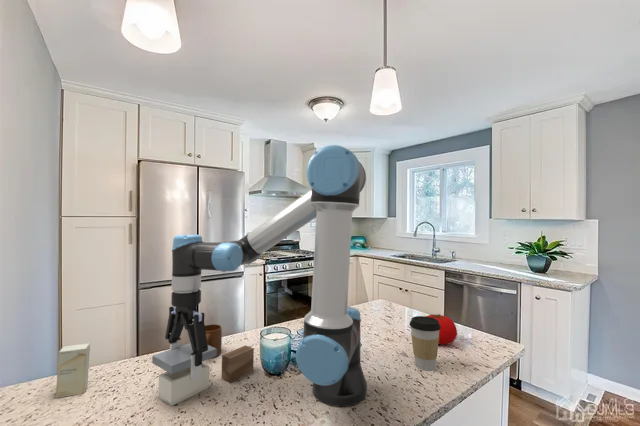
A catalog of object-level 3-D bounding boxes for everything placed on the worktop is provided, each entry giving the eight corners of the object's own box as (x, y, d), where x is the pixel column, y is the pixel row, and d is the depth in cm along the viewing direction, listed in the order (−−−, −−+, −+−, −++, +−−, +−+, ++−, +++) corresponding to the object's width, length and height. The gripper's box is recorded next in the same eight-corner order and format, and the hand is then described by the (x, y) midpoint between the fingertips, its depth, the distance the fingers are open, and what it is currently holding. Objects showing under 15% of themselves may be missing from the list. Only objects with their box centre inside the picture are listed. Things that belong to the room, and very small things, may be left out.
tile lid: (216, 355, 86) (216, 348, 86) (171, 374, 75) (171, 366, 75) (196, 347, 91) (196, 340, 91) (152, 363, 81) (152, 355, 81)
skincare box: (55, 399, 80) (56, 352, 80) (61, 390, 84) (62, 346, 84) (84, 393, 82) (86, 348, 83) (89, 385, 86) (90, 342, 87)
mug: (217, 364, 100) (217, 335, 100) (192, 365, 98) (193, 336, 99) (222, 349, 111) (223, 323, 112) (201, 350, 110) (201, 324, 110)
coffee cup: (442, 362, 101) (441, 317, 102) (440, 376, 92) (440, 326, 93) (411, 357, 105) (411, 314, 106) (407, 369, 96) (407, 322, 97)
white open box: (209, 387, 85) (209, 365, 86) (171, 406, 77) (171, 382, 77) (196, 380, 89) (196, 359, 89) (158, 397, 80) (158, 374, 81)
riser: (253, 370, 95) (253, 348, 95) (229, 382, 88) (230, 358, 88) (245, 367, 98) (245, 345, 98) (221, 378, 90) (221, 355, 90)
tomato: (464, 344, 117) (464, 317, 117) (445, 352, 110) (444, 323, 110) (432, 333, 129) (432, 308, 129) (413, 339, 122) (412, 313, 122)
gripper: (223, 293, 80) (221, 378, 80) (178, 283, 93) (176, 355, 93) (197, 298, 74) (195, 390, 73) (153, 287, 87) (151, 365, 87)
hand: (185, 371), depth 83 cm, fingers closed on tile lid, 10 cm apart
